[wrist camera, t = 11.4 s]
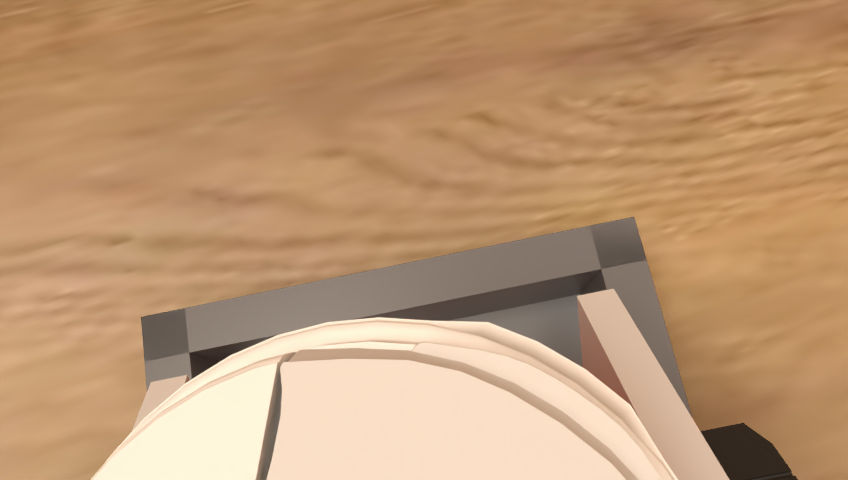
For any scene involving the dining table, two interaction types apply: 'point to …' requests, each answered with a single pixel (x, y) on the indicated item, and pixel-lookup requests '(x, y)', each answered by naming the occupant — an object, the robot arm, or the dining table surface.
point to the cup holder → (436, 300)
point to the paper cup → (391, 412)
